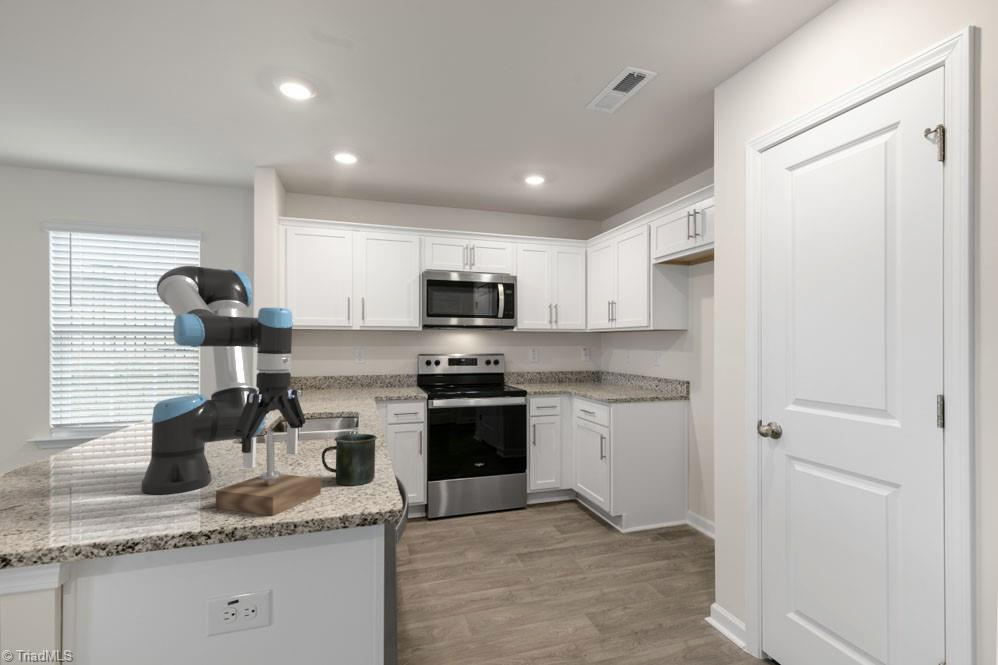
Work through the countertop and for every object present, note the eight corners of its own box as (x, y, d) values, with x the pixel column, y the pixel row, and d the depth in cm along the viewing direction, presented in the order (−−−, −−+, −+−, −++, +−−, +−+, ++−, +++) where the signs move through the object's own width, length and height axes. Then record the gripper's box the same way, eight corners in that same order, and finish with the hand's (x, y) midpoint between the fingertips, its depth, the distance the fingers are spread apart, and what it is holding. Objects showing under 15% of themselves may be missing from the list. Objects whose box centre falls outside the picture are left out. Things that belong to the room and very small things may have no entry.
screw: (258, 483, 113) (280, 479, 115) (260, 488, 109) (283, 484, 111) (257, 429, 113) (279, 426, 115) (260, 432, 109) (282, 430, 111)
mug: (379, 483, 127) (380, 439, 127) (322, 490, 121) (323, 443, 121) (372, 473, 137) (373, 432, 137) (319, 479, 130) (320, 436, 131)
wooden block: (215, 508, 107) (216, 490, 107) (268, 488, 122) (269, 472, 122) (272, 515, 102) (273, 497, 102) (320, 494, 117) (320, 478, 117)
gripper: (244, 374, 100) (241, 474, 99) (320, 369, 124) (318, 450, 123) (217, 373, 102) (214, 471, 101) (297, 369, 126) (295, 448, 125)
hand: (271, 460), depth 112 cm, fingers open, 13 cm apart
